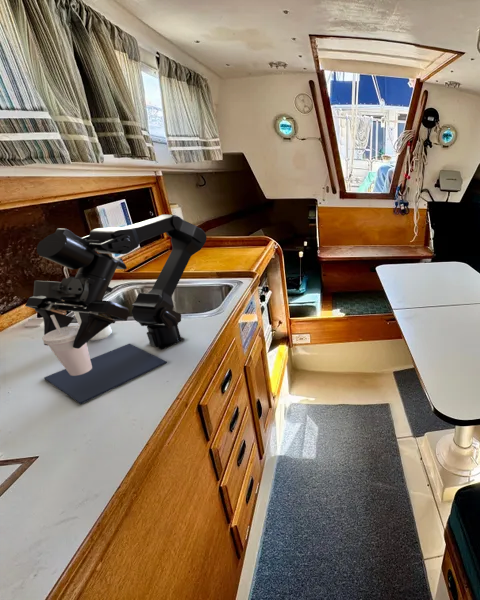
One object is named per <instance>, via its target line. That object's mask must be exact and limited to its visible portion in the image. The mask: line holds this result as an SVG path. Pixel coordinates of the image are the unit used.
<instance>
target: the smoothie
mask: <svg viewBox="0 0 480 600" xmlns="http://www.w3.org/2000/svg"><path fill="white" fill-rule="evenodd" d="M51 318H52V321H53V323H54V325H55V327H56V330H53V331H51V332H49V333H47V334H45V335H44V334H43V335H42V338H41V339H42V341H43V345H44V344H47V345H48V346H47V345H46V346H47V347H49V349H50V350H51V351H52V352H53V354H54V355H55V357H56V358H57V360H58V361H59V362H60V363H61V365H62V366H63V367H64V369H66V370H67V371H68V373H69V374H70V375H71V376H77V375H81V374H84V373H86V372H88V371H90V370H91V369H92V364H91V360H90V359H91V357H90V352H89V348H88V342H87V343H85V344H84V345H83V346H82V347H80V348H79V349H77V348H73V344H74V340H75V338H76V335H77V332H78V330H79V327H80V326H79V325H68V326H67V327H63V328H60V326H59V324H58V322H57V320H56V318H55V316H54V315H51Z"/></svg>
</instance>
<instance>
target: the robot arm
mask: <svg viewBox="0 0 480 600" xmlns="http://www.w3.org/2000/svg"><path fill="white" fill-rule="evenodd" d="M163 234H166V236H168V237H170V242H171V246H172V250H171V252H170V253H169V255H168V257H167V259H166V261H165V263H164V265H163V267H162V269H161V270H160V273H159V275H158V276H157V279H156V280H155V282H154V283H153V286H152V288H151V290H150V291H148V292H139V293H138V294H137V296H136V299H135V300H134V302H133V303H132V304H131V307H132V309H131V314H132V318H133V319H134V321H135V322H136V323H138V324H139V325H140V326H141V327H146V329H147V332H146V335H147V338H148V344H149V345H150V346H152V347H154V348H156V349H159V350H161V351H162V350H165V349H167V348H170V347H173V346H174V345H176V344H179V343H180V342H184V341H185V337H183V336H182V335H181V332H180V330H179V326H178V325H179V323H181V322H182V314H181V313H179V312H177V311H175V310H174V302H173V295H174V293H175V291H176V288H177V287H178V284H179V282H180V281H181V278H182V276H183V274H184V273H185V270H186V268H187V266H188V263H189V262H190V259H191V257H192V256H194V255H195V254H196V253H199V251H201V250H202V248H203V247H204V246H205V244H206V242H207V238H208V237H207V234H206V233H205V231H204V230H203V228H201V227H198V226H197V225H195V224H193V223H191V222H189V221H186V220H184V219H183V218H182V217H180V216H178V215H176V214H161V215H160V214H159V215H158V216H156V217H153V218H149V219H145V220H143V221H140V222H136V223H133V224H128V225H126V226H111V227H110V226H109V227H98V228H94V229H92V230H91V231H89V235H86V236H83V237H80V236H78V235H77V234H75V233H74V232H72V230H69V229H67V228H57V229H56V230H55V232H54V233H51V234H49V235H47V236H45V237H44V238H43V239H42V240H40V241H39V242H38V243H37V245H36V253H37V255H38V256H40V257H41V258H43V259H46V260H48V261H50V262H53V263H55V264H58V265H60V266H62V267H64V268H67V269H69V270H77V273H76V274H75V276H68V277H64V278H62V280H61V281H50V280H49V281H48V280H34V283H33V295H32V296H30V297H28V299H27V301H26V303H25V305H24V306H25V307H26V308H31V309H33V310H34V311H35V312H36V313H38V314H39V315H40V316H41V317H42V319H43V328H44V329H43V336H44V335H45V334H47V333H49V332H51V331H53V330H56V327H55V325H54V323H53V321H52V318H51V315H54V316H55V318H56V320H57V322H58V324H59V326H60V328H63V327H67V326H70V324H71V323H72V322H73V321H74V319H75V317H72V316H70V315H69V314H71V313H72V312H73V313H74V312H79V315H80V318H81V325H80V327H79V330H78V332H77V335H76V338H75V340H74V344H73V348H77V349H79V348H80V347H82V346H83V345H84V344H85V343H87V344H88V342H89V341H91V340H90V339H91V338H93V337H94V336H95V335H96V334H98V333H99V332H100V331H102V330H103V329H104V328H106V327H107V326H109V325H110V326H111V324H115V323H116V321H124V322H125V321H128V318H129V315H130V309H129V308H128V307H127V306H124V305H122V304H119V303H116V302H114V301H111V300H104V297H105V295H106V293H112V291H113V289H114V288H113V287H111V286H110V284H111V282H112V279H113V277H114V275H115V272H116V270H127V269H128V266H127V265H126V263H124V261H123V258H122V257H114V256H111V255H112V254H113V255H128V254H129V253H131V252H132V251H134V250H136V249H137V248H138V247H139V246H140V244H141V243H142V242H144V241H147V240H149V239H153V238H155V237H158V236H160V235H163ZM109 254H111V255H109ZM74 307H76V308H74ZM85 308H86V309H85ZM83 312H85V313H83ZM43 345H44V346H47V347H49V346H48V345H47V344H44V343H43Z"/></svg>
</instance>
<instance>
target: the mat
mask: <svg viewBox="0 0 480 600" xmlns="http://www.w3.org/2000/svg"><path fill="white" fill-rule="evenodd" d="M90 360H91V364H92V369H91V370H90V371H88V372H86V373H84V374H81V375H77V376H71V375H70V374H69V373H68V371H67V370H66V369H65V368H64V369H62V370H59V371H57V372H54V373H51V374H49V375H47V376H44V377H43V379H44V380H45V381H47V382H48V383H50V384H51V385H53V386H54V387H56V388H57V389H58V390H60V391H61V392H62V393H64V394H65V395H67V396H68V397H69V398H71V399H72V400H74V401H75V402H77V403H78V404H79V405H82V404H85V403H86V402H89V401H91V400H93V399H96V398H97V397H99V396H102V395H103V394H106V393H107V392H109V391H112V390H114V389H116V388H118V387H120V386H122V385H125V384H126V383H128V382H131V381H133V380H134V379H136V378H139V377H140V376H143V375H145V374H147V373H149V372H151V371H153V370H155V369H157V368H159V367H162V366H164V365H166V364H168V362H167V360H165V359H162V358H161V357H158V356H156V355H154V354H153V353H150V352H148V351H146V350H145V349H142V348H139V347H138V346H136V345H133V344H131V343H126V344H125V345H122V346H119V347H117V348H115V349H112V350H110V351H107V352H104V353H102V354H99V355H97V356H95V357H92V358H90Z"/></svg>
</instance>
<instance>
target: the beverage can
mask: <svg viewBox="0 0 480 600" xmlns="http://www.w3.org/2000/svg"><path fill="white" fill-rule="evenodd" d="M74 308H76V307H74ZM85 309H86V308H85ZM83 313H85V312H83ZM73 314H74V318H75V319H76V322H77V323H78V326H80V325H81V318H80V315H79V312H73ZM112 333H113V330H112V327H111V324H110V325H109V326H107V327H106V328H104V329H103V330H102V331H100V332H99V333H98V334H96V335H95V336H94V337H93V338H91V339H90V340H89V341H101V340H103V339H106V338H108V337H109V336H110V335H111V334H112Z"/></svg>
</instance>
